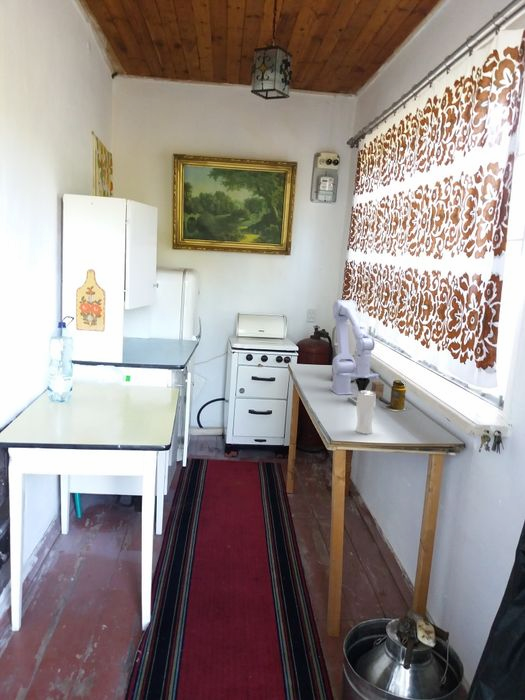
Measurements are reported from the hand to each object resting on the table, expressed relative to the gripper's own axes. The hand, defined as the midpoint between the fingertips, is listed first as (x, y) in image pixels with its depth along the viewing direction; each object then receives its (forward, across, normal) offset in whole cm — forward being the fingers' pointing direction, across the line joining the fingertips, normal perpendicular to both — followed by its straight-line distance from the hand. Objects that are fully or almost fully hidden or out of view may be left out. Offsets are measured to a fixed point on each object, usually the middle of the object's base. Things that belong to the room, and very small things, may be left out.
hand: (361, 394), depth 234 cm
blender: (+4, +8, +40) cm, 41 cm away
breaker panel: (+4, 0, 0) cm, 4 cm away
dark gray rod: (+4, +12, 0) cm, 13 cm away
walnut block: (+4, +12, +8) cm, 15 cm away
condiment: (+4, +12, -10) cm, 16 cm away
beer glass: (+4, -16, -36) cm, 39 cm away
